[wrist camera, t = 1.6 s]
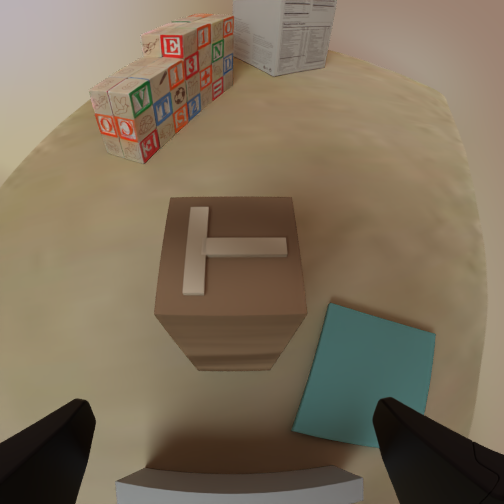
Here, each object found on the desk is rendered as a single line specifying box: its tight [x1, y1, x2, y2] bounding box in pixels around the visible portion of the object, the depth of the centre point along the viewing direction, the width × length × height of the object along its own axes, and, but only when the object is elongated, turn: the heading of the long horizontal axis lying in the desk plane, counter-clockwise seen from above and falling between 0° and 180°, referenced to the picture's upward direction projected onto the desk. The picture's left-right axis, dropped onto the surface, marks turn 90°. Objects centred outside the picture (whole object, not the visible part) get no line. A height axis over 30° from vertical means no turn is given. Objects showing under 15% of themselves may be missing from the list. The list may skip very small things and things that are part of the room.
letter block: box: [154, 197, 307, 371], centre depth 16 cm, size 5×5×12 cm
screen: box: [115, 465, 363, 504], centre depth 13 cm, size 2×13×6 cm, turn 92°
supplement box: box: [233, 0, 337, 76], centre depth 40 cm, size 13×13×18 cm
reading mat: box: [291, 303, 436, 448], centre depth 19 cm, size 10×10×1 cm
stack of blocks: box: [89, 14, 234, 164], centre depth 31 cm, size 21×6×12 cm, turn 156°
